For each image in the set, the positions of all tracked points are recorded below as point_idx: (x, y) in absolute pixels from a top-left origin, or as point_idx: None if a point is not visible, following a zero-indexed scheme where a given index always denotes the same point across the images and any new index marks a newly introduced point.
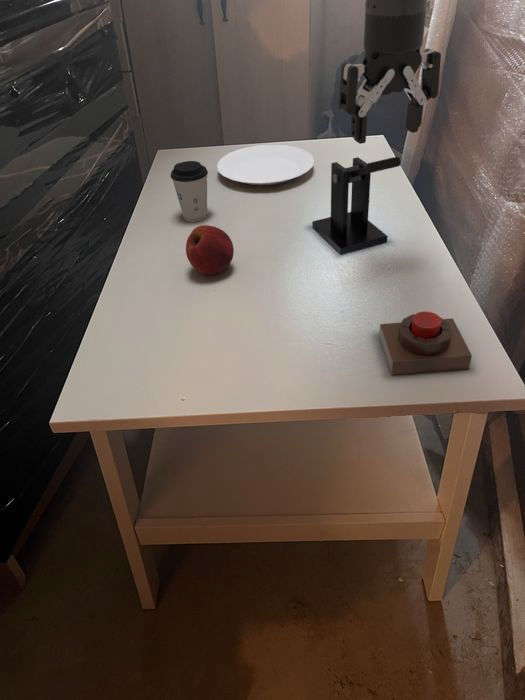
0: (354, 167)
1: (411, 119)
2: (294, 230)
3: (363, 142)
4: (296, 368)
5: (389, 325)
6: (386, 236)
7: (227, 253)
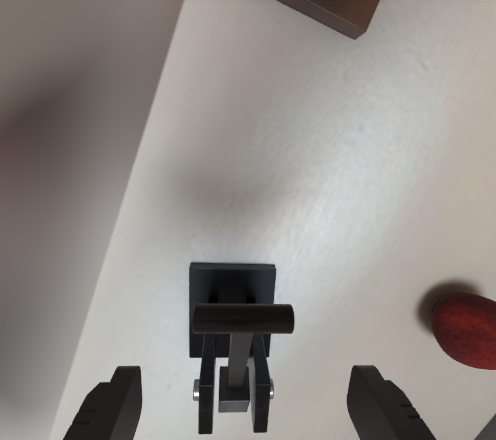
0: (231, 398)
1: (125, 425)
2: (294, 353)
3: (362, 366)
4: (491, 38)
5: (356, 19)
6: (191, 267)
7: (463, 306)
